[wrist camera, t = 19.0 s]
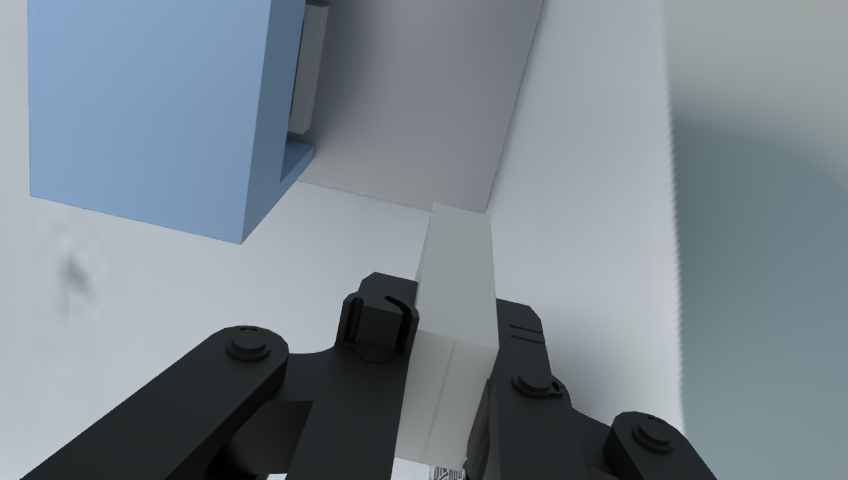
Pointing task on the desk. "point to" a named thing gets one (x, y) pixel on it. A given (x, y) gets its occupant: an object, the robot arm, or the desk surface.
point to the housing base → (410, 95)
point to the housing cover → (165, 109)
